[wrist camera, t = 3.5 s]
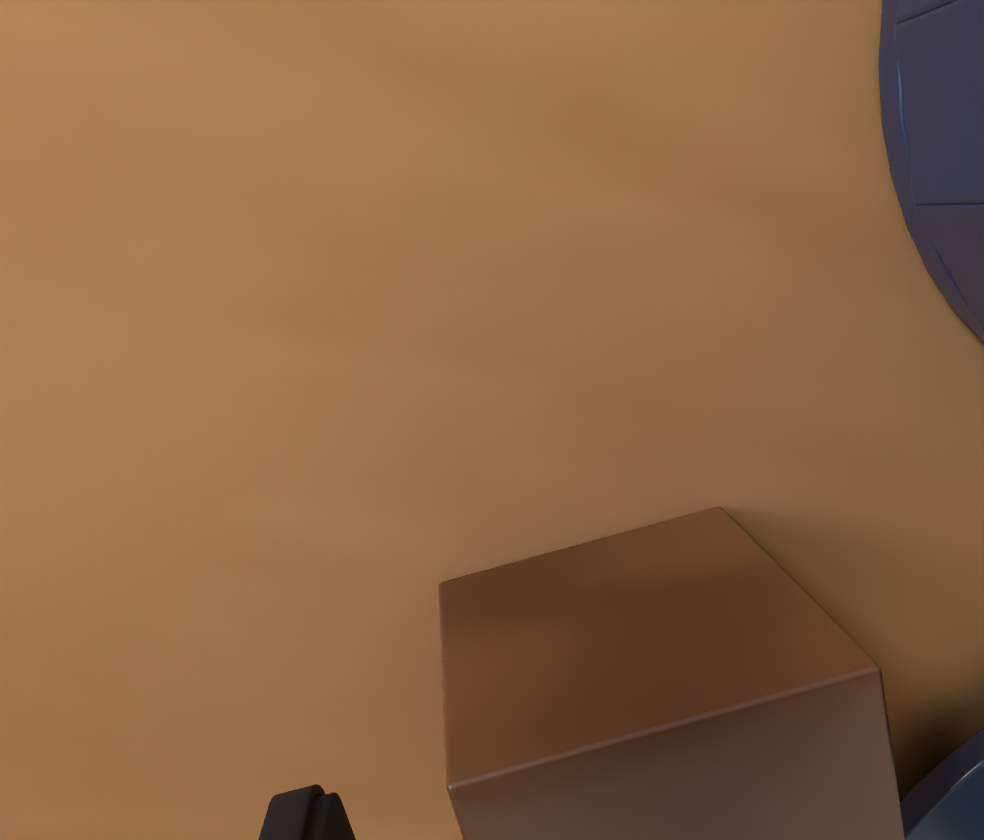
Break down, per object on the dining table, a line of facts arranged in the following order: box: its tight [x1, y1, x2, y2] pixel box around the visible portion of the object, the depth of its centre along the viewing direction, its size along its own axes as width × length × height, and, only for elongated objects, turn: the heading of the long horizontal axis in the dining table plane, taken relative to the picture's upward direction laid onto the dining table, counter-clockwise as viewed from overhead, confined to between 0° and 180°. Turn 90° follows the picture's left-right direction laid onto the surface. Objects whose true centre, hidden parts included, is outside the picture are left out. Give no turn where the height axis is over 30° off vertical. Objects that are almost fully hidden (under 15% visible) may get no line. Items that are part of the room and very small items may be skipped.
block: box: [439, 507, 905, 840], centre depth 10 cm, size 4×4×4 cm
